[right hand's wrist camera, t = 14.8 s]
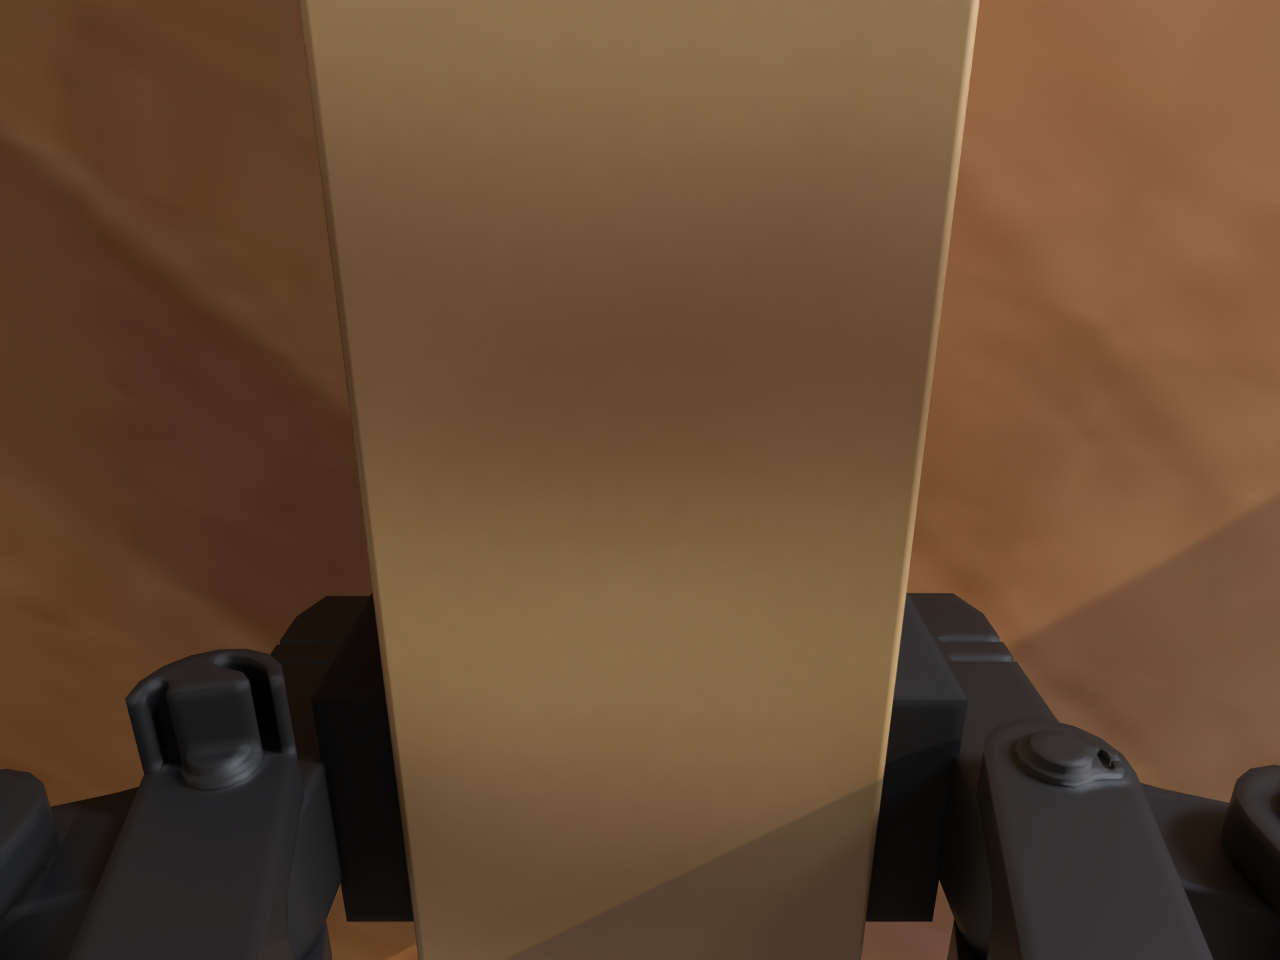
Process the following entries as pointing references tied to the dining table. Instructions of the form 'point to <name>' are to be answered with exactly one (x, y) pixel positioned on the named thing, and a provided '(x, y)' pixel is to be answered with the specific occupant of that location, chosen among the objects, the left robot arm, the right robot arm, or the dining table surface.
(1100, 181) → the dining table surface
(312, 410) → the dining table surface
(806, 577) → the post
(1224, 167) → the dining table surface
